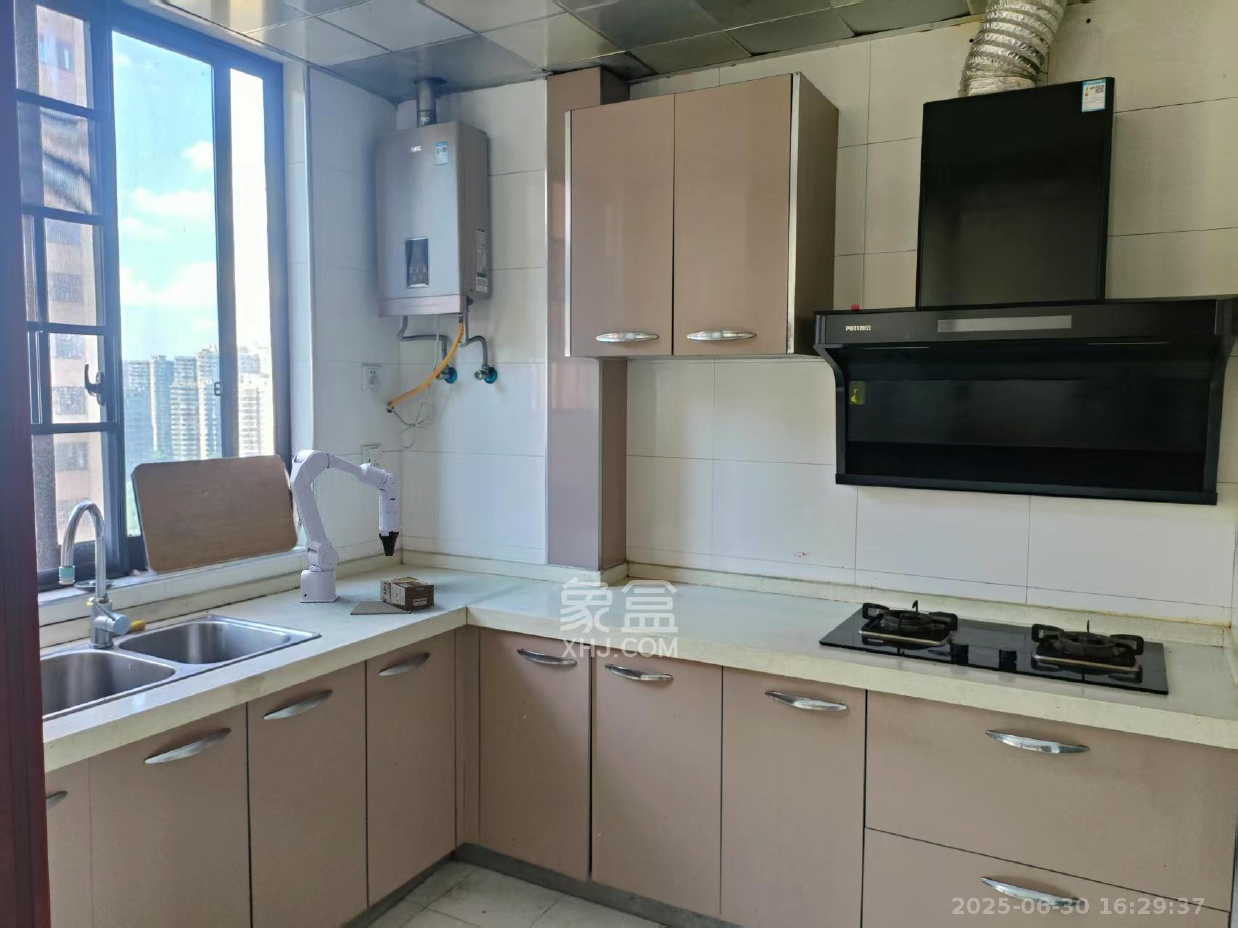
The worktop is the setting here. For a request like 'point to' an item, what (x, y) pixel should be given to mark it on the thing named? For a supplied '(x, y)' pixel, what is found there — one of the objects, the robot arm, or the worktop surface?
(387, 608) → the mat
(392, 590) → the coffee box
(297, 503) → the robot arm
